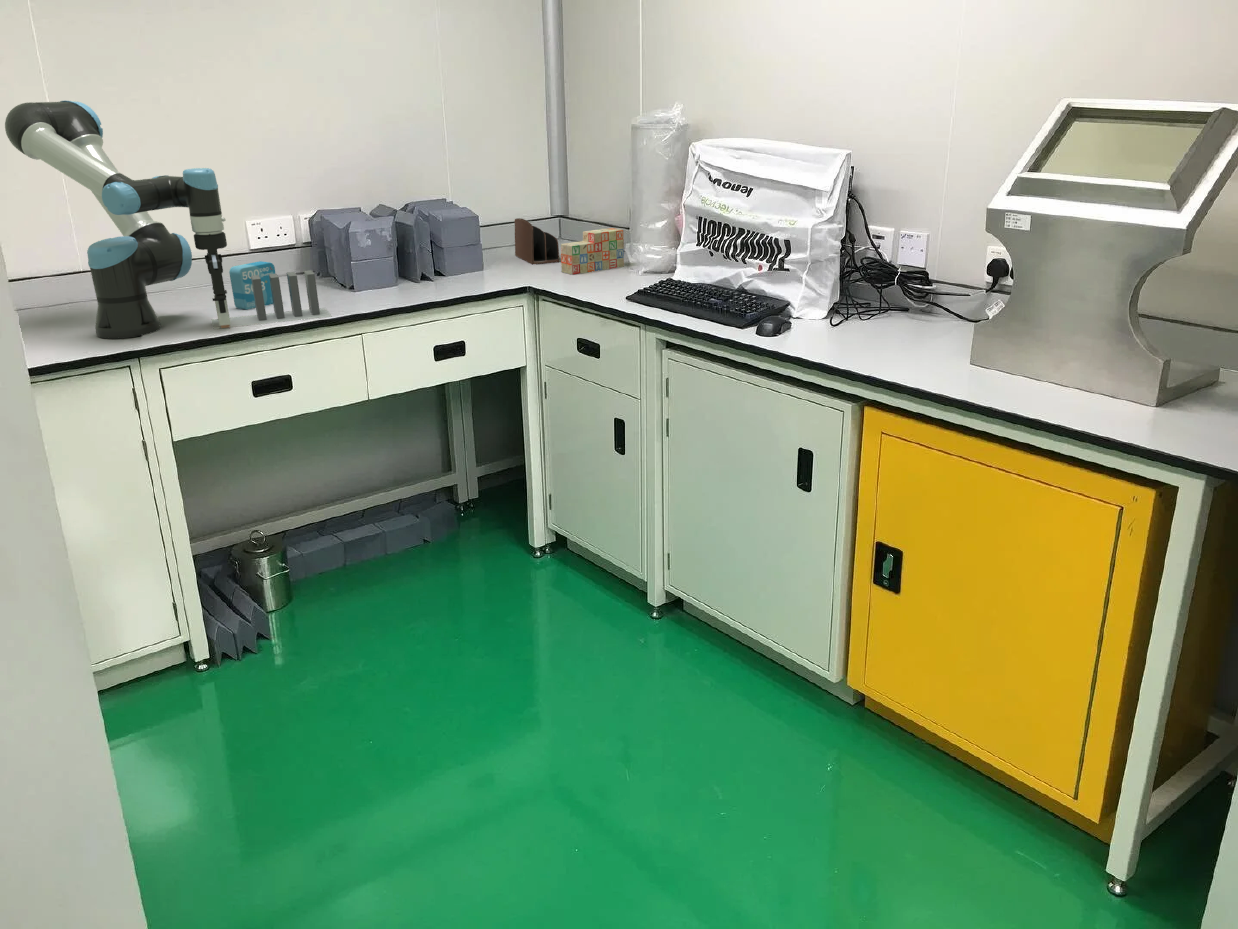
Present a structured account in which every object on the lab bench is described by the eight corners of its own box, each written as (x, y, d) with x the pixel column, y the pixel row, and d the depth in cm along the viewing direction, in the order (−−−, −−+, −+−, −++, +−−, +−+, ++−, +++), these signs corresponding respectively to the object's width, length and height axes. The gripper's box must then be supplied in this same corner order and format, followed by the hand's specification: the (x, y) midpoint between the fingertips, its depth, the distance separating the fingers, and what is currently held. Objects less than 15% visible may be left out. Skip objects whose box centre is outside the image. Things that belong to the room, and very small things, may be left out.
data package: (245, 311, 274) (238, 268, 270) (235, 309, 277) (228, 267, 272) (280, 303, 284) (274, 261, 279) (270, 301, 286) (263, 260, 281)
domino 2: (259, 320, 261) (252, 279, 257) (257, 316, 267) (250, 275, 262) (266, 319, 262) (260, 278, 258) (264, 315, 267) (258, 274, 263)
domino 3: (277, 318, 263) (270, 277, 259) (274, 314, 268) (268, 274, 264) (284, 318, 264) (278, 277, 260) (282, 313, 269) (276, 273, 265)
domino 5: (312, 315, 266) (307, 274, 262) (309, 310, 272) (304, 270, 268) (320, 314, 267) (314, 273, 263) (317, 310, 272) (311, 270, 268)
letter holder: (532, 265, 333) (530, 222, 328) (515, 256, 350) (512, 215, 345) (560, 262, 337) (558, 220, 332) (541, 254, 354) (539, 214, 349)
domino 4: (294, 317, 265) (289, 276, 261) (292, 312, 270) (286, 272, 266) (302, 316, 266) (296, 275, 261) (299, 311, 271) (294, 271, 267)
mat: (213, 330, 254) (213, 329, 254) (211, 320, 264) (211, 319, 264) (332, 317, 265) (332, 316, 265) (325, 309, 275) (325, 307, 275)
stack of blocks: (572, 275, 315) (571, 236, 311) (561, 272, 320) (559, 234, 315) (624, 266, 327) (623, 229, 323) (612, 264, 332) (611, 227, 328)
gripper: (227, 236, 242) (242, 328, 250) (222, 226, 258) (237, 313, 267) (194, 238, 239) (210, 331, 248) (192, 228, 255) (207, 316, 264)
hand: (224, 321), depth 257 cm, fingers closed on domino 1, 6 cm apart
